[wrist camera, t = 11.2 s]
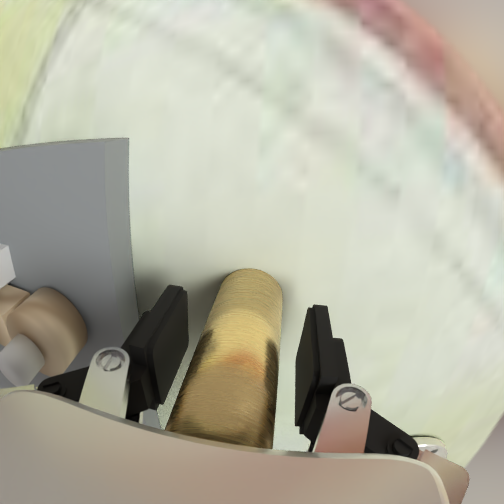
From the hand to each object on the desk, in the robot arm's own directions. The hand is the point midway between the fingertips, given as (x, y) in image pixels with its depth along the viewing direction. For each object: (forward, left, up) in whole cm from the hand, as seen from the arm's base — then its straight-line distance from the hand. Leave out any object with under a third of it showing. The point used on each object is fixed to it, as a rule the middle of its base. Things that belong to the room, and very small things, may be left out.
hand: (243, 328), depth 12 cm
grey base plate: (+19, +5, -2) cm, 20 cm away
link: (+18, +2, 0) cm, 18 cm away
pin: (0, 0, -2) cm, 2 cm away
